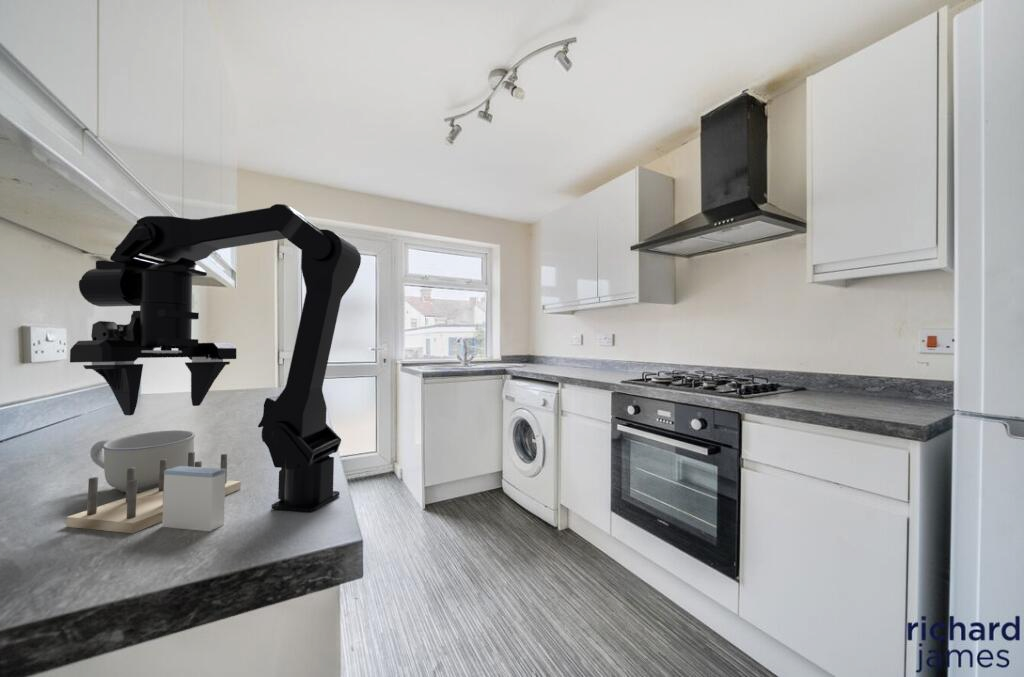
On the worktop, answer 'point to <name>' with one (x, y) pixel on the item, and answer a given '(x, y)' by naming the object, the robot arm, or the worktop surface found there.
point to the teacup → (142, 456)
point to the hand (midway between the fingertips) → (165, 410)
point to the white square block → (194, 498)
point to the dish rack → (133, 503)
